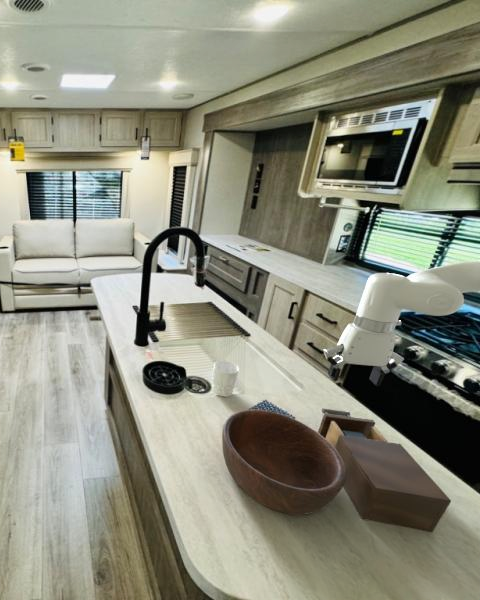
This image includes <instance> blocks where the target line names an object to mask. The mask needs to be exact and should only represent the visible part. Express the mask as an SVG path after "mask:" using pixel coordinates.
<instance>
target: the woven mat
mask: <svg viewBox="0 0 480 600" xmlns="http://www.w3.org/2000/svg"><path fill="white" fill-rule="evenodd" d="M247 410H265V411H271V412H275V413H279V414H282V415H285V416H288V417H291V418H293V419H295V420H296V417H295V416H293V414H292V413H289V412H288V411H285V410H284V409H282V408H281V407H279V406H277V405H276V404H273V402H270V401H268V400H267V399H264V400H263V399H262V401H259V402H258V403H256V404H254V405H252V407H250V408H247Z"/></svg>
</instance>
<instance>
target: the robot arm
mask: <svg viewBox="0 0 480 600" xmlns="http://www.w3.org/2000/svg"><path fill="white" fill-rule="evenodd" d="M474 292H475V293H477V292H480V259H478V260H477V259H476V260H468V261H467V260H466V261H461V262H455V263H451V264H450V263H449V264H445V265H440V266H436V267H432V268H427V269H423V270H419V271H416V272H414V273H411V274H409V275H408V276H404V275H401V274H396V273H389V272H376V273H373V274H371V275H370V276H369V277H368V279H367V281H366V283H365V288H364V290H363V292H362V296H361V298H360V302H359V304H358V308H357V310H356V313H355V316H354V319H353V322H349V323H348V324H347V326H346V327H345V328H344V330H343V331H342V334H341V335H340V338H339V339H338V341H337V344H336V345H334V346H330V347H327V348H324V349H323V351H322V352H323V354H324V357H325V359H326V360H327V361H328V362H329V364H330V365H329V368H328V371H327V375H328V377H329V378H330V379H331V380H332V382H338V380H339V377H340V375H341V371H342V368H341V367H343V366H344V365H346V364H350V365H360V366H370V367H373V368H372V370H371V372H370V376H369V380H370V381H371V382H372V383H373V384H374V385H375V386H376V387H380V386H381V384H382V382H383V380H384V378H385V375H386V374H388V373H390V371H391V370H393V369H396V368H397V367H398V365H399V364H401V363H402V362H403V361H404V360H405V358H404V357H403V356H401V355H400V354H398V353H397V352H394V348H395V343H396V331H395V329H396V327H397V326H399V327H400V326H402V321H401V320H399V318H400V316H401V314H402V310H406V311H409V312H415V313H419V314H423V315H426V316H431V317H432V316H434V317H441V316H442V317H443V316H449V315H451V314H454V313H456V312H458V311H459V310H461V308H463V306H464V303H465V298H464V293H465V294H466V293H474ZM334 354H335V356H334V357H333V355H334Z"/></svg>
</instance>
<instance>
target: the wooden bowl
mask: <svg viewBox="0 0 480 600" xmlns="http://www.w3.org/2000/svg"><path fill="white" fill-rule="evenodd" d="M221 442H222V447H221V448H222V454H223V459H224V462H225V465H226V467H227V470H228V472H229V473H230V475H231V477H232V478H233V480H234V482H235V483H236V484H237V485H238V487H239V488H241V489H242V491H243V492H245V493H246V494H247V495H248V497H250V498H252V499H253V500H255V501H256V502H257V503H259V504H261V505H263V506H265V507H267V508H269V509H271V510H274V511H276V512H279V513H283V514H288V515H300V516H301V515H308V514H313V513H316V512H319V511H321V510H322V509H324V508H326V507H327V506H328V505H329V504H331V502H333V500H334V499H335V498H336V497H337V496H338V495H339V493H340V492H341V490H342V489H343V485H344V483H345V480H346V468H345V464H344V462H343V460H342V458H341V456H340V454H339V453H338V452H337V450H336V449H335V448H334V447H333V446H332V445H331V443H330V442H328V441H327V440H326V439H325V438H324V437H323V436H322V435H320V434H319V433H318V431H317V430H315V429H314V428H312V427H311V426H309V425H307V424H305V423H303V422H302V421H299V420H298V419H296V418H295V419H293V418H291V417H288V416H285V415H282V414H279V413H275V412H271V411H265V410H248V409H245V410H244V409H243V410H240V411H237V412H235V413H233V414H231V415H230V416H228V417H227V419H226V420H225V422H224V424H223V427H222V433H221Z"/></svg>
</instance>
